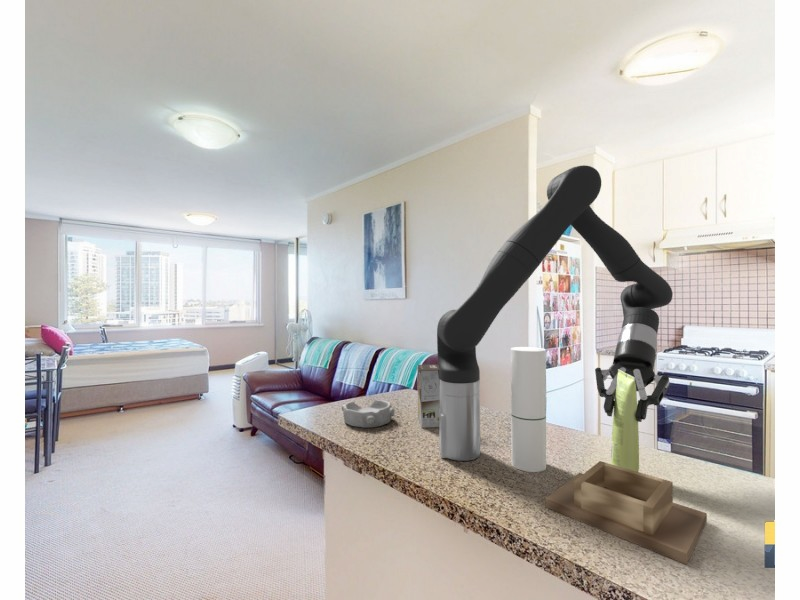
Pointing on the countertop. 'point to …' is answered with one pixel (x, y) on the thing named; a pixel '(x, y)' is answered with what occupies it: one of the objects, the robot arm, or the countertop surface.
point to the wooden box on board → (631, 509)
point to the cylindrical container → (528, 408)
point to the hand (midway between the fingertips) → (623, 416)
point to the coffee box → (428, 395)
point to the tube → (625, 424)
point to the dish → (368, 414)
